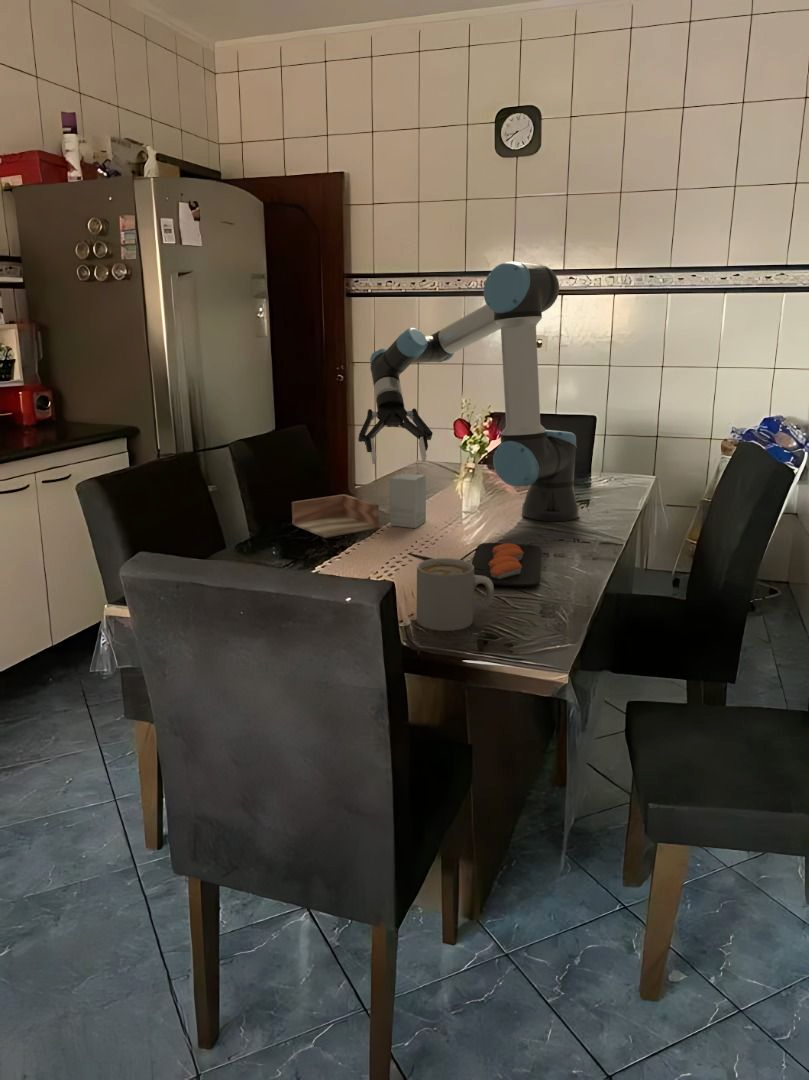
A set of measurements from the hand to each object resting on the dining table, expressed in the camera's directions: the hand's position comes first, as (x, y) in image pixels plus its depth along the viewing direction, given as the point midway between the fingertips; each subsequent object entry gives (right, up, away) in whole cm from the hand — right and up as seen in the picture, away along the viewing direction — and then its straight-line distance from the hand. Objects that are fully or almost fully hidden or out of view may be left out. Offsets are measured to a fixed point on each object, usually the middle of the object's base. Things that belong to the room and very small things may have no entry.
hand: (399, 460), depth 214 cm
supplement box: (+2, -17, -6) cm, 18 cm away
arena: (-16, -18, -8) cm, 26 cm away
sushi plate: (+15, -28, -41) cm, 51 cm away
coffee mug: (+10, -36, -72) cm, 81 cm away
